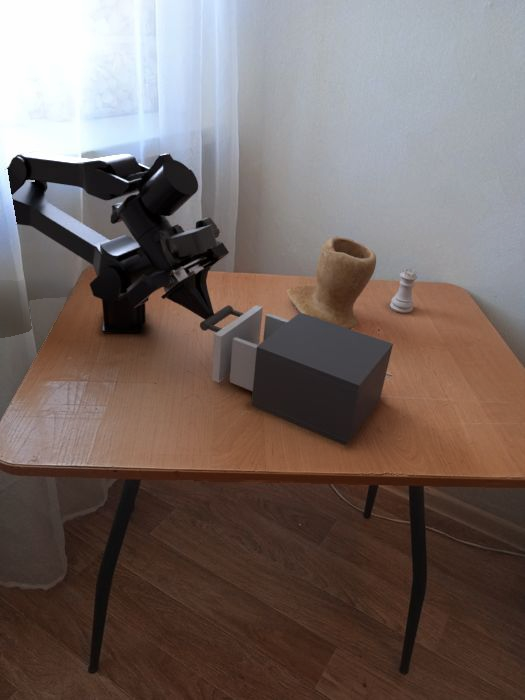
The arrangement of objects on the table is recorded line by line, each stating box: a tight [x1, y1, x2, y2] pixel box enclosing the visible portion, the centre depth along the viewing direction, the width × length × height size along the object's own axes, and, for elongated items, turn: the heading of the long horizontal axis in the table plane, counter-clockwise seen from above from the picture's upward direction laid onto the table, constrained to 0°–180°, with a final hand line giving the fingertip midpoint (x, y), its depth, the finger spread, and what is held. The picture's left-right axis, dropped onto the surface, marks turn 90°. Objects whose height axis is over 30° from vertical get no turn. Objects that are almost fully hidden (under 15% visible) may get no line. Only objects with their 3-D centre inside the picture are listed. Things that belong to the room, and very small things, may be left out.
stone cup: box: [286, 236, 377, 330], centre depth 101 cm, size 15×12×15 cm
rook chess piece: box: [389, 268, 418, 314], centre depth 108 cm, size 4×4×8 cm
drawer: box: [199, 304, 290, 392], centre depth 83 cm, size 18×12×8 cm, turn 60°
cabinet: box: [250, 312, 394, 446], centre depth 79 cm, size 15×13×10 cm
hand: (211, 319), depth 85 cm, fingers closed, pressing on drawer
